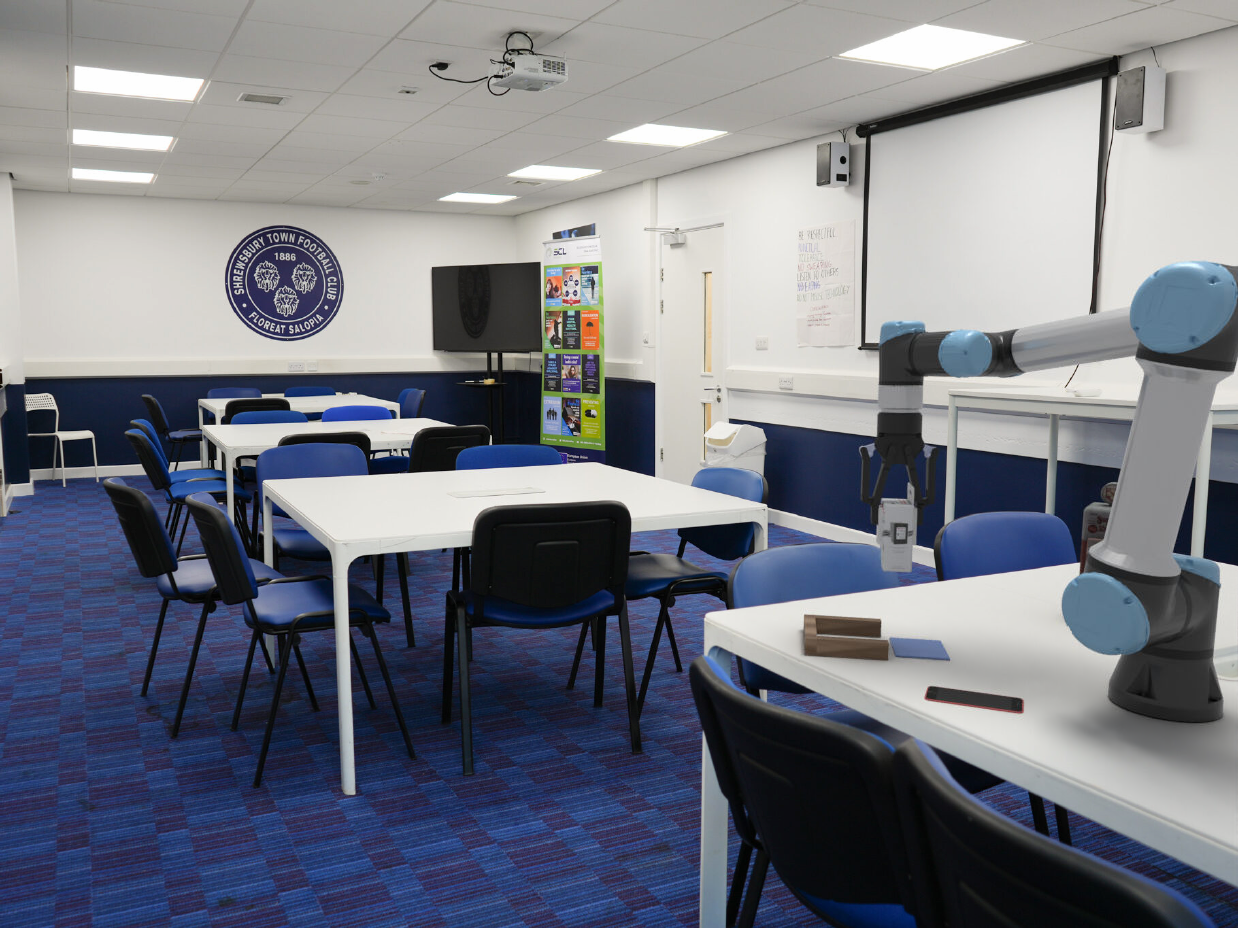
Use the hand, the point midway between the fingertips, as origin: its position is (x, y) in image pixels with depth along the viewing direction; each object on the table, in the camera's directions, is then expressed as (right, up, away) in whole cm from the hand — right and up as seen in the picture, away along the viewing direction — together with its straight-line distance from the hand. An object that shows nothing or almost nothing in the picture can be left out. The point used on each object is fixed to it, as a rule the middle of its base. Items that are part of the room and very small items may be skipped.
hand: (896, 543), depth 172 cm
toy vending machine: (+46, -18, +20) cm, 53 cm away
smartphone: (+5, -22, -23) cm, 33 cm away
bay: (-8, -18, +4) cm, 21 cm away
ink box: (0, -4, 0) cm, 5 cm away
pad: (+5, -19, +2) cm, 19 cm away
